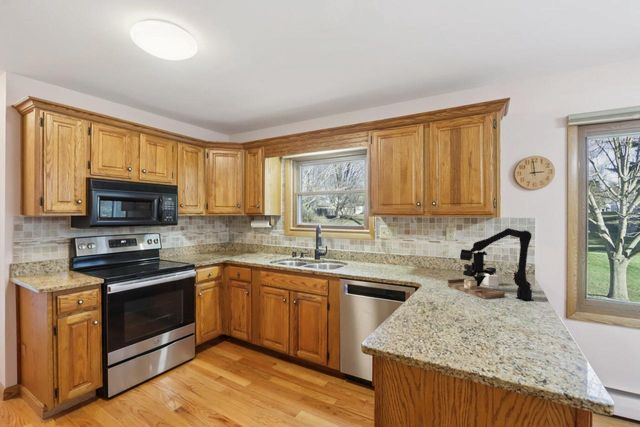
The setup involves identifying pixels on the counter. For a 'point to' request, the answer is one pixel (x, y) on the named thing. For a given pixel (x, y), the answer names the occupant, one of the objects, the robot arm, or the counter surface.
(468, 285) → the maple cube
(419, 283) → the counter surface
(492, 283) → the medicine bottle
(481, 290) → the trap deck
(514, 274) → the robot arm
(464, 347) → the counter surface
